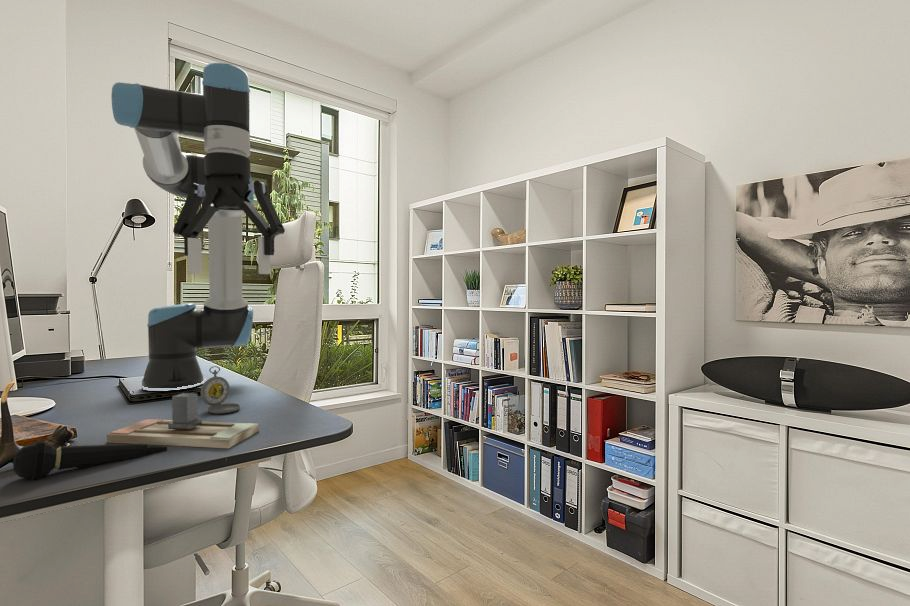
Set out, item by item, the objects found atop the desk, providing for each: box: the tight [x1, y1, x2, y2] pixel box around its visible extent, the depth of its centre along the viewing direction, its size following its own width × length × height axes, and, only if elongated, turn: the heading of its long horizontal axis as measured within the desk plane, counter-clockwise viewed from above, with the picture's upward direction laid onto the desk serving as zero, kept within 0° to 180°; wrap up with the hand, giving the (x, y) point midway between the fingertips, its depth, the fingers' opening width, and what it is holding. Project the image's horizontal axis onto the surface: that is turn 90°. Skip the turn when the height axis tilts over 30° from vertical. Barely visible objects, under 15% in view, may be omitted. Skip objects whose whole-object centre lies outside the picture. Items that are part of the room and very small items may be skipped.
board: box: [106, 418, 260, 449], centre depth 92 cm, size 10×24×2 cm, turn 83°
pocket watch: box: [200, 365, 241, 415], centre depth 111 cm, size 8×8×10 cm
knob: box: [168, 392, 203, 430], centre depth 92 cm, size 4×4×6 cm
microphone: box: [12, 439, 168, 480], centre depth 78 cm, size 6×6×20 cm
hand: (229, 274), depth 88 cm, fingers open, 13 cm apart
